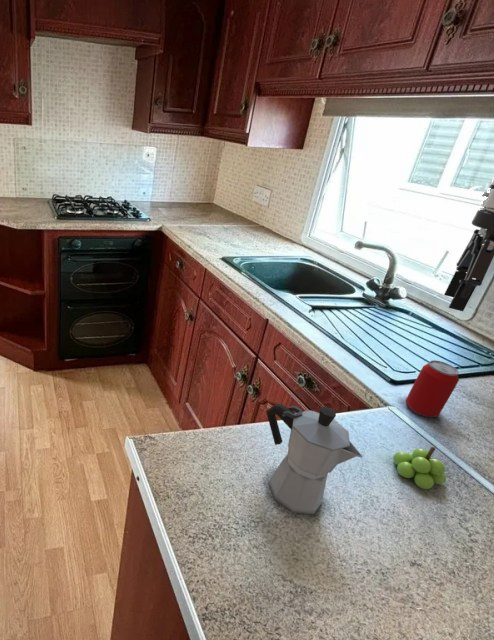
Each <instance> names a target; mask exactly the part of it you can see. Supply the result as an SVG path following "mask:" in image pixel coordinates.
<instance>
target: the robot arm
mask: <svg viewBox="0 0 494 640" xmlns="http://www.w3.org/2000/svg"><path fill="white" fill-rule="evenodd" d="M481 197H483V199H482V201H481V203H480V206H481V207H482V208H479V209H477V210H476V212H475V214H474V217H473V219H472V220H471V225H472V226H473V227H477V228H480V229H477V228H476V229H474V230H473V234H472V236H471V238H470V239H469V241H468V243H467V245H466V246H465V248H464V250H463V252H462V254H461V255H460V258H459V259H458V261H457V262H456V270H455V272H454V274H453V275H452V277H451V280H450V282H449V284H448V286H447V288H446V290H445V291H444V293H443V294H444V296H446V297H450V298H452V300H451V301H450V304H449V306H448V309H450V310H451V309H452V310H455V311H458V312H459V311H460V312H464V311H465V309H466V307H467V306H468V303H469V301H470V299H471V297H472V296H473V294H474V292H475V290H476V288H477V287H480V286H482V285H483V281H484V279H485V276H486V275H487V272H488V270H489V268H490V265H491V264H492V261H493V259H494V177H493V178H492V180H491V182H490V184H489V186H488V189H487V191H485V192H482V194H481Z"/></svg>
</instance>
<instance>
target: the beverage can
mask: <svg viewBox="0 0 494 640" xmlns="http://www.w3.org/2000/svg"><path fill="white" fill-rule="evenodd" d="M459 381H460V377H459V370H458V369H457V368H456V367H455V366H453V365H451V364H449V363H447V362H444V361H441V360H435V359H434V360H430V361H429V362H428V363H426V364H424V365H423V366H422V368H421V370H420V371H419V373H418V375H417V377H416V378H415V381H414V383H413V385H412V387H411V389H410V391H409V393H408V395H406V398H405V404H406V405H407V406H408V407H409V409H410V410H411V411H413V412H414V413H416V414H418V415H420V416H422V417H428V418H436V417H438V416H440V414H441V413H442V411H443V409H444V407H445V406H446V404H447V403H448V401H449V399H450V397H451V395H452V393H453V392H454V390H455V388H456V387H457V385H458V383H459Z"/></svg>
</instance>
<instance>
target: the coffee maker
mask: <svg viewBox="0 0 494 640" xmlns="http://www.w3.org/2000/svg"><path fill="white" fill-rule="evenodd" d="M276 415H277V416H278V417H279V419H280V420H281V421H282V422H283V423H284V424H286V426H287V427H288V428H289V429H290V434H289V438H288V443H287V454H286V455H285V456H284V457H283V459H282V460H281V462H280V463H279V465H278V466H277V468H276V470H275V471H274V473H273V474H272V476H271V477H270V479H269V480H268V482H267V483H268V485H269V488H270V491H271V494H272V496H273V499H274V500H275V501H277V502H278V503H279V504H281V505H282V506H283V507H285V508H286V509H288V511H290V512H291V513H292V514H293V513H295V514H304V515H314V514H315V513H316V512H317V511H318V509H319V508H320V507H321V505H322V504H323V499H324V494H325V488H326V484H327V479H328V476H329V475H328V474H329V473H332V471H334V469H335V468H336V467H337V466H338V465H340V464H342V463H345V462H347V461H349V460H352V459H354V458H356V457H357V458H361V459H362V458H363V455H362V454H361V453H360V452H359V450H358V449H357V447H355V445H354V444H353V443H352V442H351V440H350V431H349V430H347V429H346V428H345V427H344V426H343V425H342V424H340V423H339V422H338V421H337V420H336V419H335V418H336V417H337V413H336V411H335V410H334V409H332V408H330V407H328V406H321V407H319V412H317V411H314V410H311V409H308V410H305V411H302V408H300V407H299V406H296V405H291V406H289V407H287V406H285V405H283V404H280V403H275V404H274V405H273V406H271V407H270V408H268V409H267V410H266V416H267V420H268V425H269V427H270V432H271V435H272V440H273V443H274V445H275V446H277V445H281V444H282V443H283V439H282V438H283V437H282V435H281V430H280V428H279V423H278V420H277V416H276Z"/></svg>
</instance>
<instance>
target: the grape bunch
mask: <svg viewBox="0 0 494 640" xmlns="http://www.w3.org/2000/svg"><path fill="white" fill-rule="evenodd" d="M435 450H436V447H435V446H431V447H430V449H429V450H428V451H427V449H425V448H419V447H418V448H415V449H413V451H411V452H409V451H408V452H403V451H397V452H395V454H394V455H393V457H392V460H393V463H394V464H395V465H396V470H397V472H398V474H399V475H400V476H401V477H403V478H406V479H411V478H413V480H414V483H415V485H416V486H417V487H418V488H420V489H422V490H430V489H432V488H433V486H434V485H443V484H444V483H445V482H446V481H447V475H446V473H445V472H446V465H445V464H444V463H443V461H441V460H440V459H437V458H432V456H433V454H434V452H435Z"/></svg>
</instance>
